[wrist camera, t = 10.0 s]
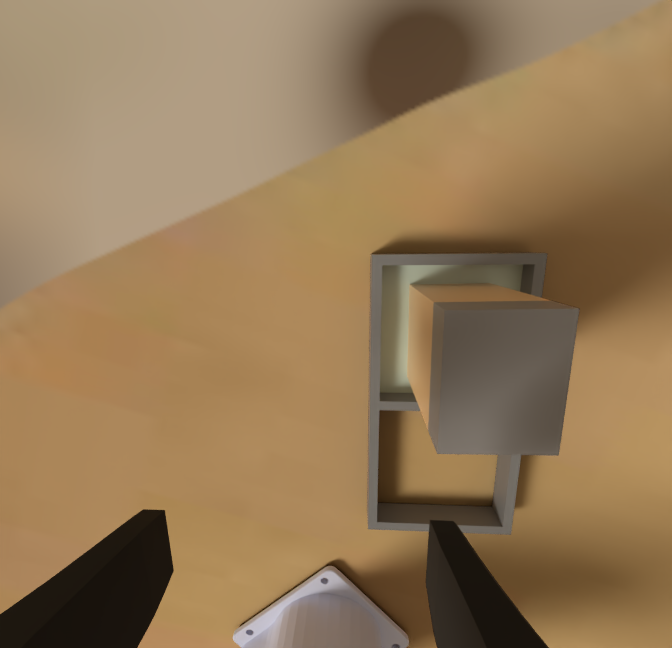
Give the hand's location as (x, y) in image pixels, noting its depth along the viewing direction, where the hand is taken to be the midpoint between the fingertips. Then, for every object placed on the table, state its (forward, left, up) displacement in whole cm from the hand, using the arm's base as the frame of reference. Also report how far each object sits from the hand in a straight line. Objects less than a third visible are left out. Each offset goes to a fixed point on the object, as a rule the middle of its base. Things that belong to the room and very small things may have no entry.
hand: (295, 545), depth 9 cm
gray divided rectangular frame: (+5, -5, -10) cm, 12 cm away
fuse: (+7, -2, -10) cm, 12 cm away
